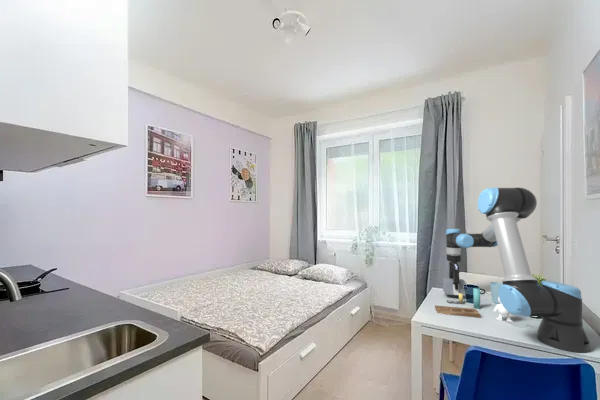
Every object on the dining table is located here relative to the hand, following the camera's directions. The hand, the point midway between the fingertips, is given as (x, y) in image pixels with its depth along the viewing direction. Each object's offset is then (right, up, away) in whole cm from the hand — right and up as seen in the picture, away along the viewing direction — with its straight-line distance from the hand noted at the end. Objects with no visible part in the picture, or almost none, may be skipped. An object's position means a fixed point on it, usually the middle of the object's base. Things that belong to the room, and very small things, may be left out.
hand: (454, 292), depth 167 cm
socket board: (-13, -2, -25) cm, 29 cm away
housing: (0, 0, 0) cm, 0 cm away
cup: (+19, -2, -10) cm, 22 cm away
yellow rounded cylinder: (-5, -2, -10) cm, 11 cm away
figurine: (+4, -2, -36) cm, 36 cm away
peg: (+2, -2, -18) cm, 19 cm away
